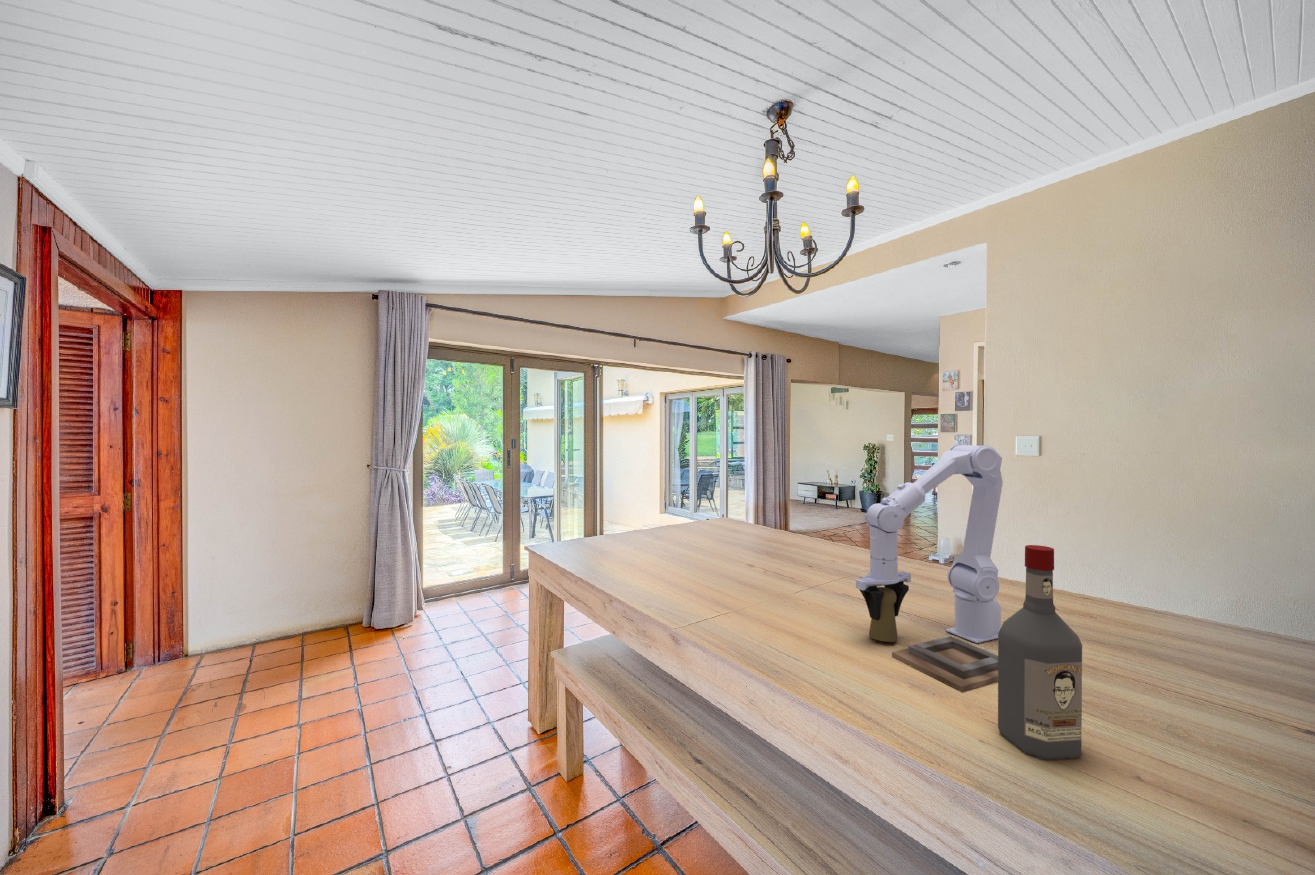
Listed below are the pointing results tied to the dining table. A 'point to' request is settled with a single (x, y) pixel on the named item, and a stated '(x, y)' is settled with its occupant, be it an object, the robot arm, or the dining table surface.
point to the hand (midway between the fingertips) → (884, 616)
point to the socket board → (945, 674)
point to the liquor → (1040, 670)
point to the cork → (885, 618)
